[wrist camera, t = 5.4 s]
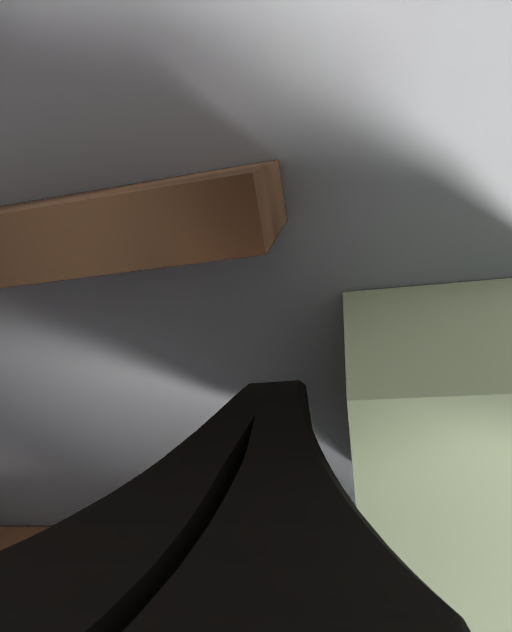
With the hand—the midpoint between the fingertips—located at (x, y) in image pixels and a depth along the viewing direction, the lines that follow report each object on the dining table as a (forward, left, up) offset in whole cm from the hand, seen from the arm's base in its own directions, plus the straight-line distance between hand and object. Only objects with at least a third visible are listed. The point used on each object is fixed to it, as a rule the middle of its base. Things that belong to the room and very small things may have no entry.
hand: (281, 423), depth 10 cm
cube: (-4, 0, -1) cm, 4 cm away
